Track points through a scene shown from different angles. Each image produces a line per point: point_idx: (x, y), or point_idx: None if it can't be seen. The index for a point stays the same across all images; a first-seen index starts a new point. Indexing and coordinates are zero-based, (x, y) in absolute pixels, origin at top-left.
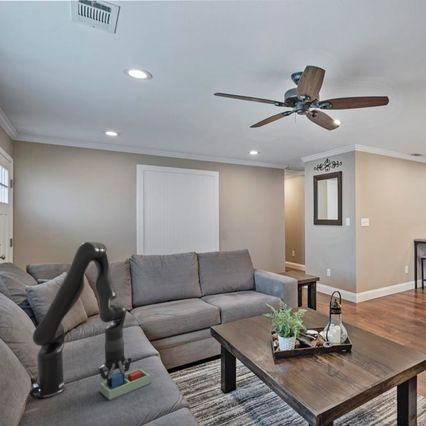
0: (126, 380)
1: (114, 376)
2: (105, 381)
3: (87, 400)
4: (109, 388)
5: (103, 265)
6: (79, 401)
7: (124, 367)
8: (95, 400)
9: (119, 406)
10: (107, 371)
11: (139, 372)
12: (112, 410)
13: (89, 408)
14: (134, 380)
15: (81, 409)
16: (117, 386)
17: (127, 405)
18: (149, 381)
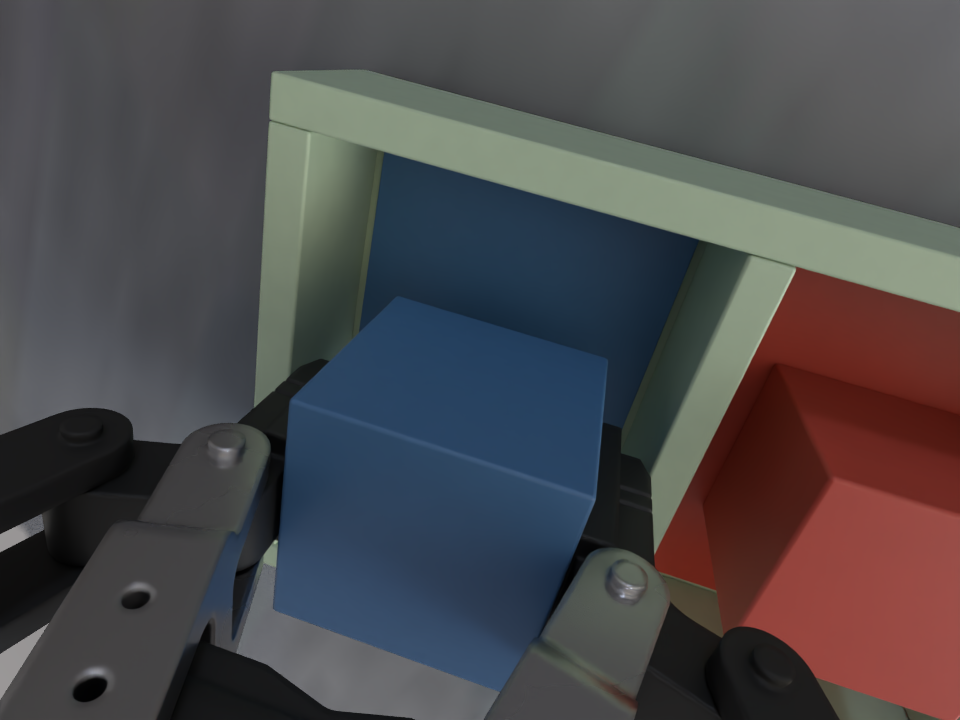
0: None
1: (344, 600)
2: (390, 120)
3: (138, 141)
4: (474, 196)
5: None
6: (46, 29)
7: (740, 705)
8: (213, 273)
9: (321, 650)
10: (110, 560)
11: (958, 689)
12: (250, 636)
13: (108, 383)
14: None
15: (37, 306)
16: (588, 282)
17: (372, 703)
18: None
